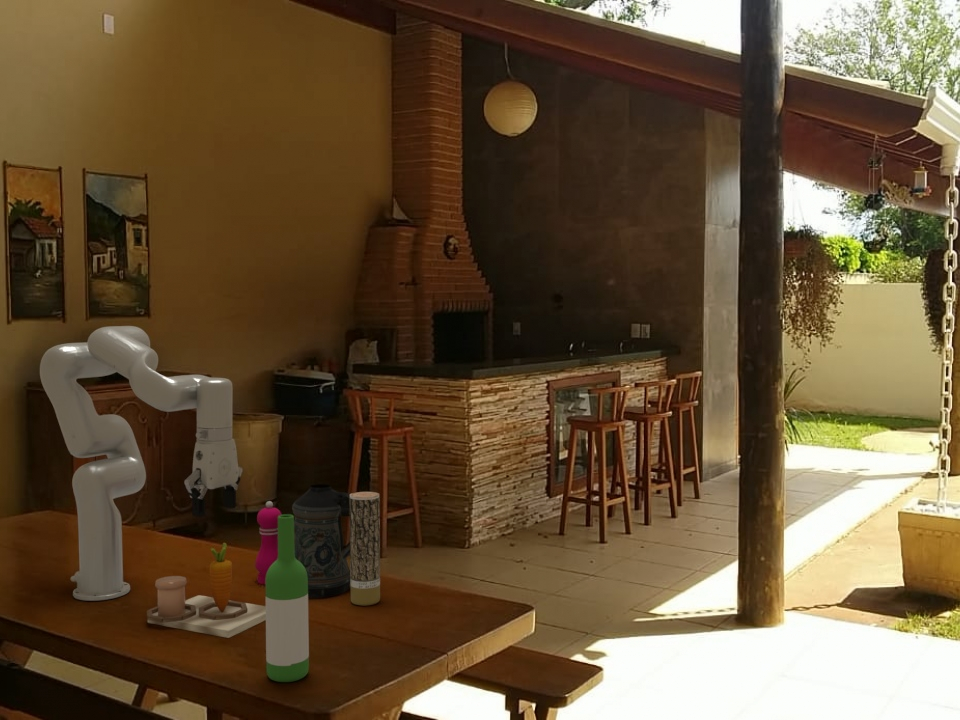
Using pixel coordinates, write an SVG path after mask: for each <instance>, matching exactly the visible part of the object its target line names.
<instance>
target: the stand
mask: <svg viewBox="0 0 960 720" xmlns="http://www.w3.org/2000/svg"><path fill="white" fill-rule="evenodd" d="M146 618H147V623H148V624H153V625H158V626H164V627H168V628H174V629H179V630H184V631H190V632H195V633H200V634H206V635H211V636H216V637H222V638H227V639H229V638H232V637H233V636H236V635H238V634H240V633H243V632H244V631H247V630H249V629H250V628H252V627H255V626H256V625H259V624H261V623H262V622H264V621H265V622H266V605H260V604H254V603H248V602H242V601H237V600H236V601H235V600H230V599H229V601H228V604H227V606H226V608H225V610H224V611H223V612H221V611H220V610H219V609H218V607H217V605H216V603H215V601H214V598H213V596H212V597H211V596H206V595H201V594H200V595H199V594H198V595H196V596H193V597H190V598H188V599H185V614H183V615H181V616H172V617H160V616H158V605H157V606H154V607H152V608H150V609H147V610H146Z"/></svg>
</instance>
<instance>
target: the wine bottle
mask: <svg viewBox="0 0 960 720" xmlns="http://www.w3.org/2000/svg"><path fill="white" fill-rule="evenodd" d="M294 519H295V515H294V514H291V513H287V514H286V513H285V514H282V515H279V516H278V558H277V560H276V561H275V562H274V563H273V564H272V565H271V566H270V567H269V569H268V571H267V574H266V579H265V585H264V586H265V606H266V620H265V651H266V652H265V653H266V654H265V657H266V658H265V660H266V666H265V667H266V675H267V677H268V678H269V679H270V680H272V681H274V682H277V683H291V682H296V681H299V680H301V679H303V678H304V677H306V676H307V674H308V673H309V668H310V663H309V661H310V651H309V650H310V644H309V642H310V641H309V640H310V639H309V637H310V636H309V630H310V629H309V628H310V627H309V598H308V577H307V572H306V569H305V567H304V566H303V565H302V563H301V562H299V561H298V560H297V559H296V558H295V549H294Z"/></svg>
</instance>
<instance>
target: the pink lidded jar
mask: <svg viewBox="0 0 960 720" xmlns="http://www.w3.org/2000/svg"><path fill="white" fill-rule="evenodd" d="M154 582H155V584H154V585H155V588H156V589H157V606H158V616H160V617H172V616H181V615H183V614H185V600H186V589H185V588H186V586H187V583H188V582H187V578H186V577H185V576H181V575H170V576H169V575H168V576H164V577H160V578H157V579H156V580H155V581H154Z"/></svg>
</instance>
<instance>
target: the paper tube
mask: <svg viewBox="0 0 960 720" xmlns="http://www.w3.org/2000/svg"><path fill="white" fill-rule="evenodd" d="M349 495H350V516H349V542H350V555H349V562H350V563H349V569H350V602H351V603H352V604H353V605H355V606H361V607H362V606H363V607H365V606H366V607H367V606H372V605H373V606H374V605H376V604H378V603H379V602H380V600H381V547H380V546H381V537H380V536H381V528H380V527H381V525H380V524H381V522H380V521H381V520H380V517H381V515H380V514H381V511H380V510H381V508H380V507H381V506H380V499H381V498H380V493H379V492H374V491H359V492H358V491H357V492H353V493H350V494H349Z"/></svg>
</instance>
